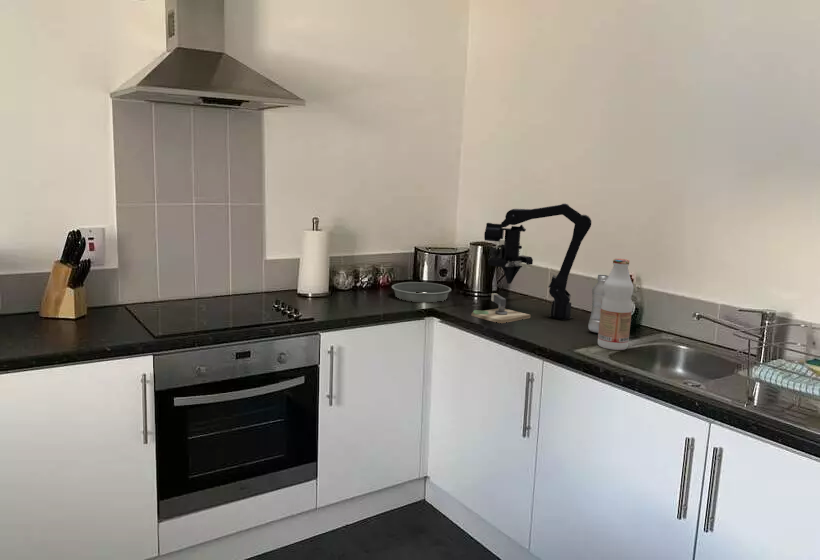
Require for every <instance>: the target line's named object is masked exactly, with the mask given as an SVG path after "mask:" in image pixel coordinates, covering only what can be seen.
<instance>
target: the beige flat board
mask: <svg viewBox="0 0 820 560" xmlns="http://www.w3.org/2000/svg"><path fill="white" fill-rule="evenodd" d="M470 315H471V317H475V318H479V319H481V320H486V321H488V322H489V321H490V322H492V323H496V322H497V323H496V324H500V323H501V324H507V323H511V322H517V321H521V320H522V319H523V320H526V319H531V314H529V313H524V312H520V311H517V310H512V309H509V308H505V311H500V310H498V308H492V309H485V310H480V309H478V310H477V309H474V310H473V312H471V314H470ZM523 320H522V321H523ZM506 322H507V323H506Z"/></svg>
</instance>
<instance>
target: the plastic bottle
mask: <svg viewBox="0 0 820 560" xmlns="http://www.w3.org/2000/svg"><path fill="white" fill-rule="evenodd" d="M608 277H609V275H607V274H598V275H597V278H596V281H597V282H596V283H595V285H594V286H593V288H592V290H591V293H592V294H591V297H592V300H591V301H592V302H591V304H592V307H591V313H590V318H589V319H588V324H587V325H588V330H589V331H590V332H591V333H595V334H598V332H599V322H600V312H601V303H602V299H603V297H604V289H603V287H604V283H605V281H606V280H607V278H608Z"/></svg>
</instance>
